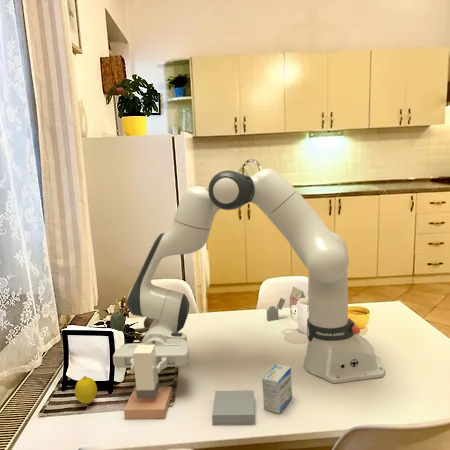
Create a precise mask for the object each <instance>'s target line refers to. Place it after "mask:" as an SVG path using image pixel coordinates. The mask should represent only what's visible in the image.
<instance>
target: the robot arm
mask: <svg viewBox="0 0 450 450" xmlns="http://www.w3.org/2000/svg"><path fill="white" fill-rule="evenodd" d="M248 203H251V204H254V205H255V206H256V207H258V208H259V209H260V210H261V211H262V212H263V214H265V216H266V217H267V218H268V219H269V221H270V222H271V223H272V224H273V225H274V226H275V228H276V229H278V231H279V232H280V233H281V234H282V236H283V237H284V238H285V239H286V241H287V242H288V243H289V245H290V246H291V248H292V250H293V251H294V252H295V254H296V255H297V257H298V258H299V259H300V261H301V262H302V264H303V265H304V266H305V268H306V269H307V270H308V271H307V272H308V276H307V277H308V284H307V286H308V289H307V290H308V291H307V292H308V293H307V295H308V296H307V312H308V317H307V321H306V336H307V346H306V347H307V348H306V354H305V357H304V362H303V366H304V369H305V370H307V372H309V373H310V374H312V375H314V376H317V377H320V378H321V379H325V380H327V381H328V382H330V383H333V384H339V383H346V382H347V383H348V382H355V381H362V380H363V381H364V380H369V379H377V378H378V379H379V378H383V377H384V376H385V373H386V372H385V371H386V370H385V366H384V363H383V361H382V360H381V358H380V357H379V356H378V355H376V353H375V350H374V347H373V346H372V344H371V342H370V341H368V339H366V338H365V337H363V336H362V335H360V333H361V330H360V328H359V325H356V323H355V322H354V321H353V320H352V319H351V317H349V289H348V288H349V287H348V286H349V284H348V283H349V281H348V269H349V264H350V259H349V252H348V247H347V246H348V245H347V243H346V242H345V240H344V239H343V237H342V236H341V235H339V234H338V233H336V232H333V231H330V229H329V228H328V227H327V226H326V224H325V223H324V221H323V220H322V219H321V217H320V216H319V215H318V213H317V212H316V211H315V209H314V208H313V207H312V206H311V205H310V203H308V202H307V200H306V199H305V198H304V196H302V194H301V193H300V192H299V191H298V190H297V189H296V188H295V187H294V185H292V183H290V182H289V181H288V180H287V179H286V178H285V177H284V176H283V175H282V174H280V173H279V172H278V171H276V170H275V169H273V168H270V167H269V168H268V167H267V168H262V169H260V170H258V171H257V172H255V173H254V175H251V176H249V175H246V174H244V173H241V172H240V171H236V170H232V169H231V170H222V171H219V172H217V173H216V174H214V176H213V177H212V178H211V180H210V182H209V183H208V187H206V186H201V185H194V186H193V185H192V186H190V187H187V188H186V189H185V191H184V192H183V194H182V197H181V198H180V201H179V203H178V206H177V209H176V211H175V215H174V218H173V221H172V224H171V226H170V227H169V229H168V230H166V231H165V232H162V233H160V234H159V235H158V236H157V237H156V239H155V241H154V242H153V244H152V246H151V247H150V250H149V253H147V254H148V255H147V256H146V259H145V261H144V262H143V264H142V265H143V266H142V267H141V269H140V271H139V274H138V276H137V278H136V280H135V282H134V284H133V285H132V287H131V289H130V290H129V292H128V294H127V297H126V304H125V305H126V307H127V310H128V311H129V312H130V313H131V314H132V316H137V317H141V318H151V319H154V321H153V323H152V324H151V326H150V328H149V330H148V331H147V332H145V334H144V336H143V338H142V340H141V342H140V343H139V342H138V343H137V342H136V343H133V342H132V343H126V344H124V345H122V346H121V347H120V348H119V349H118V350H117V351H116V350H115V352H114V353H113V355H112V361H113V362H112V363H113V365H114V367H115V368H118V369H120V368H123V369H124V368H127V369H128V368H130V374H132V375H133V374H134V375H135V369H134V359H133V352H134V351H135V349H136V347H137V345H155V350H156V361H157V364H155V366H154V373H158V374H161V371H162V370H164V369H167V368H168V367H169V368H170V367H172V368H173V367H174V368H175V367H186V366H189V363H190V351H189V343H188V337H187V334H185V333H180V331H181V330H183V328H184V327H185V324H186V322H187V319H188V315H189V312H190V302H189V299H188V297H187V295H186V294H185V293H182V292H180V291H176V290H172V289H168V288H164V287H161V286H157V285H155V284H153V282H152V279H154V278H153V277H154V276H155V274H156V271H157V269H158V267H159V265H160V262H161V261H162V260H163V259H164V258H166V257H169V256H177V255H188V254H189V255H190V254H192V253H195V252H197V251H199V250H201V249H202V248H204V246H205V245H206V243H207V240H208V239H209V235H210V233H211V229H212V226H213V223H214V218H215V216H216V215H217V213H218V211H220V210H225V211H232V210H233V211H234V210H238V209H239V208H242V207H243V206H244V205H247V204H248Z"/></svg>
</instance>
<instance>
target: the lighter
mask: <svg viewBox="0 0 450 450" xmlns="http://www.w3.org/2000/svg"><path fill="white" fill-rule="evenodd" d="M285 303H286V299H285V298H283V297H280V298H279V300H278V303H277V305H276V306H275V305H271V306H269V307H268V308H266V320H267V322H273V321H279V319H280V318H279V310H280V311H282V309H283V306H284V304H285Z"/></svg>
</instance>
